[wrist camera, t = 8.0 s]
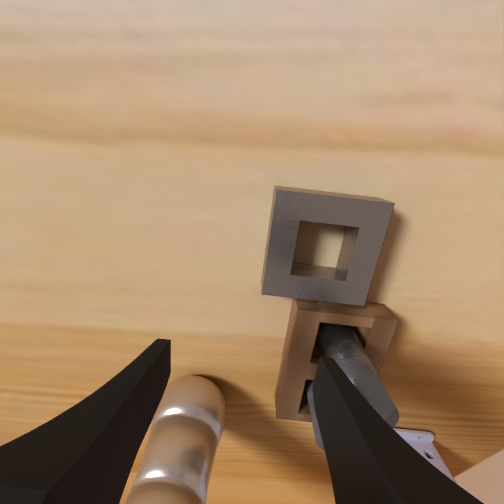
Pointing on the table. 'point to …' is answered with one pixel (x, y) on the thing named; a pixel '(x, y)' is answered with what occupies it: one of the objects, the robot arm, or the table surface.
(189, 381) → the plastic bottle
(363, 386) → the shiny steel cylinder
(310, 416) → the rack
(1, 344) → the table surface
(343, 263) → the socket block
